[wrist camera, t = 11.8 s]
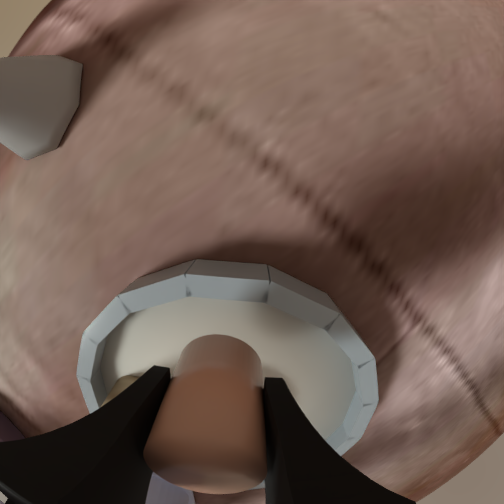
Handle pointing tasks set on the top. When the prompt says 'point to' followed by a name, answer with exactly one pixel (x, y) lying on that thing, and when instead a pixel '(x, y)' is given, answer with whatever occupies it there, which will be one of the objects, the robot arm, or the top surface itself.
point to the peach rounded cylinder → (212, 419)
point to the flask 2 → (37, 102)
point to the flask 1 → (8, 430)
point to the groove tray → (244, 328)
